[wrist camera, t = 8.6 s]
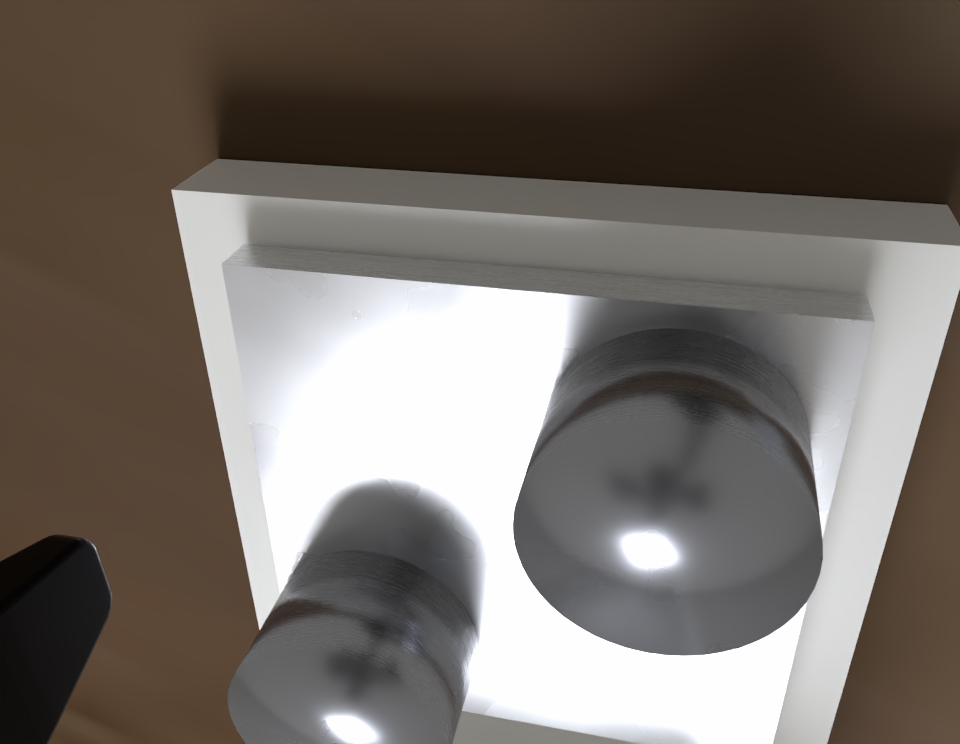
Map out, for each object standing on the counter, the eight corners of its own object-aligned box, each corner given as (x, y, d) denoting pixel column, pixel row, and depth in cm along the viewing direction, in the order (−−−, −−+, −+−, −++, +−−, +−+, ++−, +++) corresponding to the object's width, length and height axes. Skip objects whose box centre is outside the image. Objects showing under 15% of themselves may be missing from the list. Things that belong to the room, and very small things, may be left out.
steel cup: (836, 346, 16) (854, 445, 13) (783, 562, 18) (791, 680, 16) (549, 313, 17) (516, 400, 14) (538, 522, 19) (509, 626, 17)
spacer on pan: (477, 567, 20) (442, 672, 18) (480, 713, 23) (450, 823, 20) (270, 536, 21) (210, 631, 19) (295, 679, 24) (245, 779, 21)
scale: (947, 204, 17) (1091, 453, 10) (771, 858, 28) (786, 1179, 22) (216, 158, 20) (-35, 328, 13) (320, 766, 31) (211, 1024, 25)
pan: (866, 295, 16) (875, 321, 15) (765, 731, 22) (767, 766, 21) (243, 244, 18) (221, 263, 18) (310, 651, 25) (295, 679, 24)
